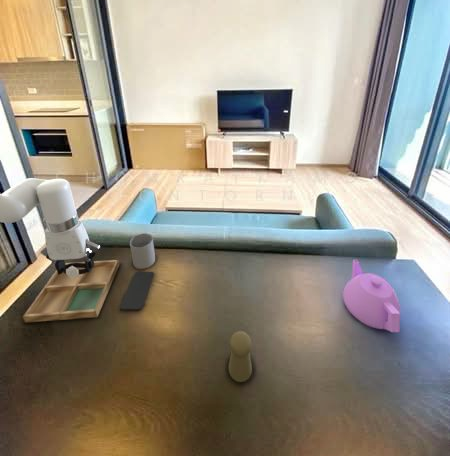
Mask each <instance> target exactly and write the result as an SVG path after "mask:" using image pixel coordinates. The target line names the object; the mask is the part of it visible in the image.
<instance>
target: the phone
mask: <svg viewBox="0 0 450 456" xmlns="http://www.w3.org/2000/svg"><path fill="white" fill-rule="evenodd" d="M154 277H155V272H154V271H141V270H140V271H136V272H134V274H133V275H132V278H131V280H130V282H129V284H128V287H127V289H126V291H125V293H124V295H123V298H122V300H121V302H120V304H119V309H120V311H136V312H137V311H138V312H139V311H141V310H142V309H143V308H144V304H145V302H146V300H147V296H148V293H149V291H150V288H151V286H152V282H153V279H154Z"/></svg>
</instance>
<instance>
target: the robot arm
mask: <svg viewBox="0 0 450 456" xmlns="http://www.w3.org/2000/svg"><path fill="white" fill-rule="evenodd" d="M37 206H40V208H41V212H42V216H43V218H42V220H41V223H42V224H43V225H46V228H45V230H44V239H45V240H44V241H45V246H44V247H43V248H42V249H41V250H40V254H41V255H43V256H44V257H45V258H46V259H47V260H49V261H51V264H53V265H54V266H55V271H56V270H57V272H58V274H61V273H62V272H63V266H65V263H66V261H65V260H78V259H83V260H84V262H85V267H86V270H87V272H90V271H91V269H92V268H93V267H94V257H95V256H96V255H97V253H98V252H99V250H100V248H101V245H100V244H97V243H95V242H93V241H91V240H90V238H89V234H88V232H87V230H86V228H85V226H84V224H83V222H82V221H81V220H79V219H80V218H79V216H78V212H77V208H76V203H75V199H74V195H73V191H72V188H71V183H70V182H69V181H68V180H67V179H64V178H53V179H44V178H43V179H42V178H34V177H29V178H24V179H22V180H20V181H18V182H17V183H16V184H14V185H12V186H11V187H10V188H8V189H6V190H5V191H4V192H2V193H0V223H4V224H12V223H17V222H19V221H21V220H22V219H24V218H25V217H26V216H27V215H28V214H29V213H31V211H33V210H34V209H35V208H36V207H37Z"/></svg>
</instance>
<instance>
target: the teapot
mask: <svg viewBox="0 0 450 456" xmlns="http://www.w3.org/2000/svg"><path fill="white" fill-rule="evenodd" d="M342 299H343V301H344V302H343V303H344V304H345V306H346V308H347V310H348V311H349V312H350V314H351V315H352V316H353V317H355V319H356V320H358V321H359V322H360V323H363V324H364V325H366V326H368V327H369V328H373V329H379V330H386V331H387V332H391V333H400V332H401V331H400V328H401V315H402V314H401V305H400V301H399V298H398V295H397V294H396V292H395V289H394V288H393V287H392V286H391V284H390V283H389V282H388V281H387V280H386V279H385V278H383V277H381V276H380V275H378V274H375V273H371V272H367V273H366V272H365V273H363V269H362V268H361V265H360V261H359V260H358V259H352V269H351V279H350V280H349V281H348V282H347V283H346V285H345V286H344V289H343V292H342Z"/></svg>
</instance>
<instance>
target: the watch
mask: <svg viewBox="0 0 450 456" xmlns="http://www.w3.org/2000/svg"><path fill="white" fill-rule="evenodd" d="M70 263H71V264H67V265H65V266H63V273H65V274H67V275H68V276H69V277H75V276H77V275H79V274H85V273H87V270H86V267H85V263H76V262H70ZM77 268H85V269H77Z"/></svg>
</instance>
